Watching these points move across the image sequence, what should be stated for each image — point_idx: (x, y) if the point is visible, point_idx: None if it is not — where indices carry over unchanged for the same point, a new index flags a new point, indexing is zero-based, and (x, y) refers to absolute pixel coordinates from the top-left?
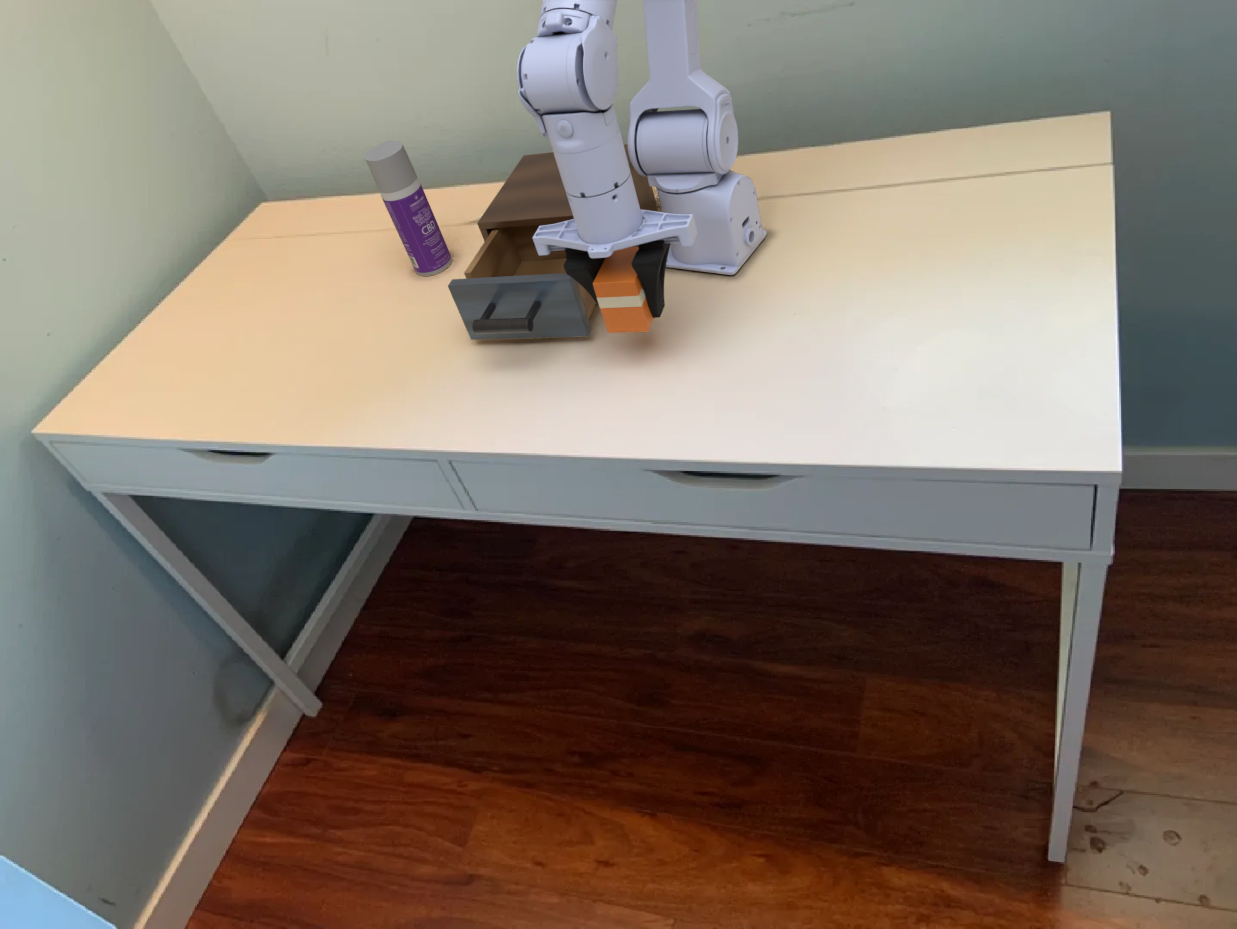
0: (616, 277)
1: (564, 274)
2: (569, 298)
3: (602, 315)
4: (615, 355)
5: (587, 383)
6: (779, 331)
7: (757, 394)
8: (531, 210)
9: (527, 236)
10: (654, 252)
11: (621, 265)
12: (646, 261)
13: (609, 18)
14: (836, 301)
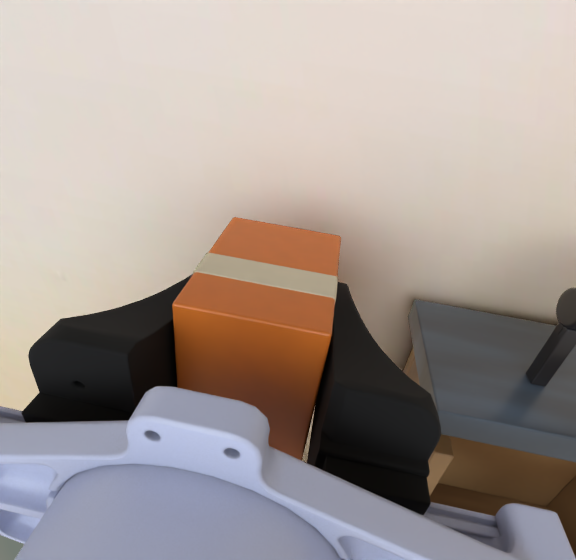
0: (244, 340)
1: (454, 431)
2: (446, 369)
3: (337, 263)
4: (359, 244)
5: (418, 165)
6: (71, 243)
7: (42, 62)
8: None
9: None
10: (62, 385)
11: (244, 391)
12: (67, 346)
13: None
14: (14, 291)
